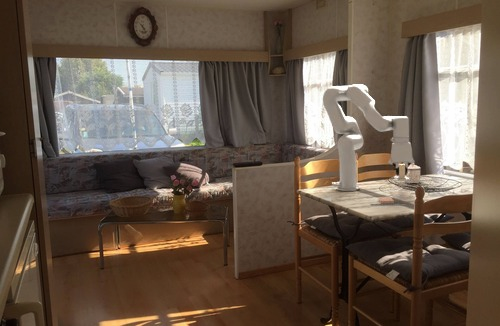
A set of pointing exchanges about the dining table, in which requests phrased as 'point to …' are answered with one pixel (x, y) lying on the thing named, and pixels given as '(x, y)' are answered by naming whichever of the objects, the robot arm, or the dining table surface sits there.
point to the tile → (386, 200)
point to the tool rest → (401, 194)
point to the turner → (401, 173)
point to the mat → (387, 204)
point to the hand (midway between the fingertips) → (401, 174)
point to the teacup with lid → (413, 174)
